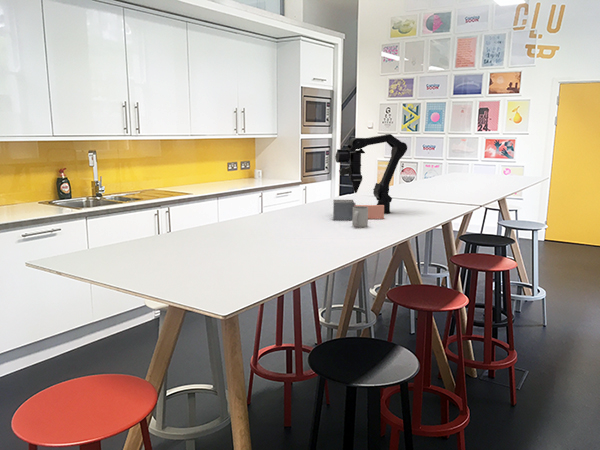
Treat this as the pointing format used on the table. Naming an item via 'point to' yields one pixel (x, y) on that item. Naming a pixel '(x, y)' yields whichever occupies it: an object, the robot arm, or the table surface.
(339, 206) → the dark grey block
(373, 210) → the pink ridged slab
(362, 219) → the cup
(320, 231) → the table surface
